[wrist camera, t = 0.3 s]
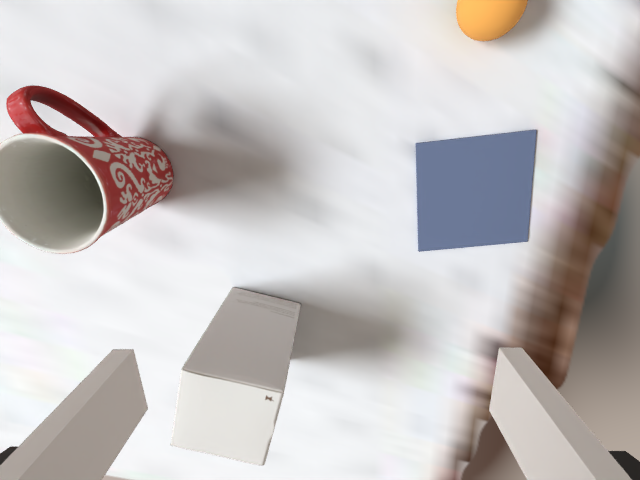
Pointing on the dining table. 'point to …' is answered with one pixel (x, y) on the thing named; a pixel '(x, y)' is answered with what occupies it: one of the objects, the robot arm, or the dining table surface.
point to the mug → (73, 176)
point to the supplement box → (237, 378)
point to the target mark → (474, 190)
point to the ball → (488, 17)
